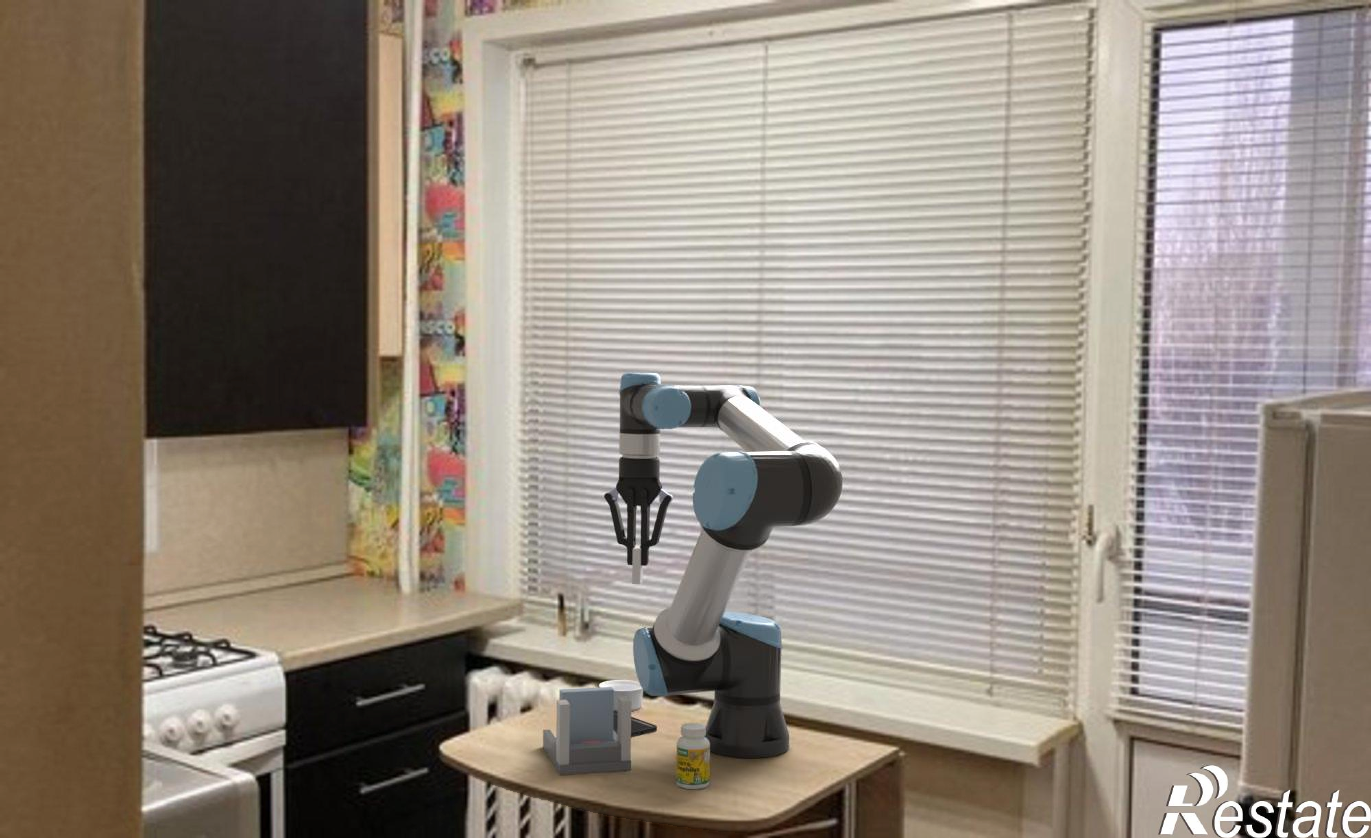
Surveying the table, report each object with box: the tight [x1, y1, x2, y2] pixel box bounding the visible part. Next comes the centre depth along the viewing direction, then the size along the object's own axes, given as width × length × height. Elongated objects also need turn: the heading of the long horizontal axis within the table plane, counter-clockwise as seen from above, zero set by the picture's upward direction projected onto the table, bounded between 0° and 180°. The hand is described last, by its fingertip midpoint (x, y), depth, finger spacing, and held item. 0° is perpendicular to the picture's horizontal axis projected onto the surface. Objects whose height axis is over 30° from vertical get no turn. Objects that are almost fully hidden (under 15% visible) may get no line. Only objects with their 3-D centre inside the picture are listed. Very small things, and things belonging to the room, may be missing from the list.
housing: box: [542, 696, 632, 776], centre depth 233 cm, size 16×12×12 cm
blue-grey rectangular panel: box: [558, 686, 614, 744], centre depth 233 cm, size 2×9×10 cm, turn 106°
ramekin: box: [598, 679, 644, 712], centre depth 267 cm, size 9×9×4 cm
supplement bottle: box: [675, 722, 711, 790], centre depth 220 cm, size 5×5×10 cm
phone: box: [613, 711, 658, 738], centre depth 254 cm, size 8×1×15 cm
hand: (637, 582), depth 254 cm, fingers closed
